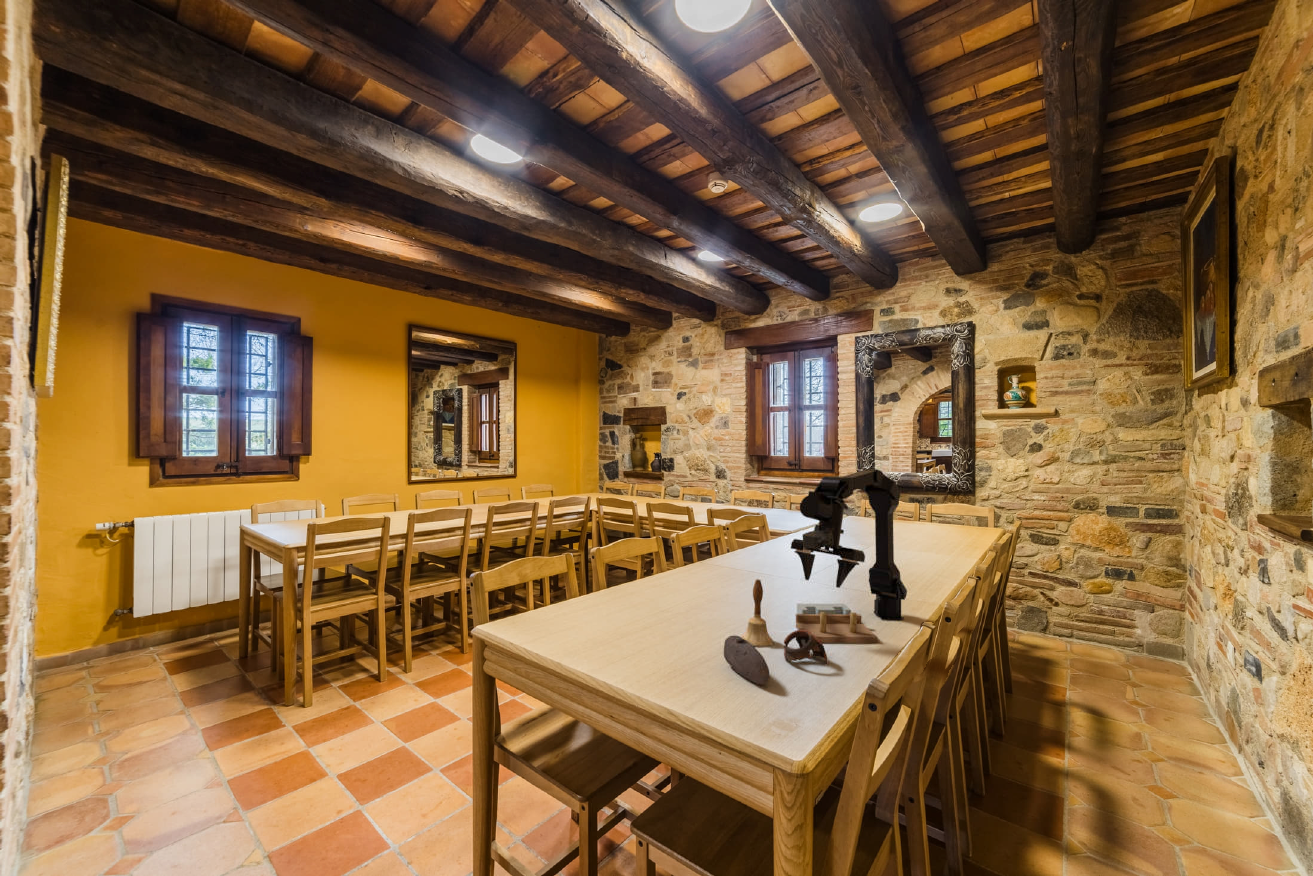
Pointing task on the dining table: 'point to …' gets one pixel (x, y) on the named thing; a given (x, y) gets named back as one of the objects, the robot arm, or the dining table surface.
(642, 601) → the dining table surface
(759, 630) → the hand bell
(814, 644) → the brown curved piece
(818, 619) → the board
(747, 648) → the perforated stone tool
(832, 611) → the grey notched panel
